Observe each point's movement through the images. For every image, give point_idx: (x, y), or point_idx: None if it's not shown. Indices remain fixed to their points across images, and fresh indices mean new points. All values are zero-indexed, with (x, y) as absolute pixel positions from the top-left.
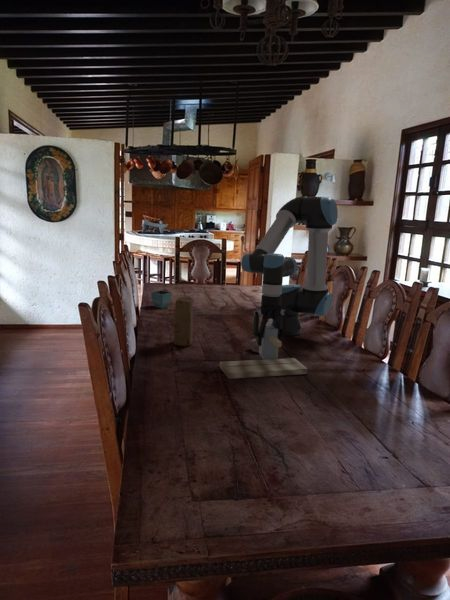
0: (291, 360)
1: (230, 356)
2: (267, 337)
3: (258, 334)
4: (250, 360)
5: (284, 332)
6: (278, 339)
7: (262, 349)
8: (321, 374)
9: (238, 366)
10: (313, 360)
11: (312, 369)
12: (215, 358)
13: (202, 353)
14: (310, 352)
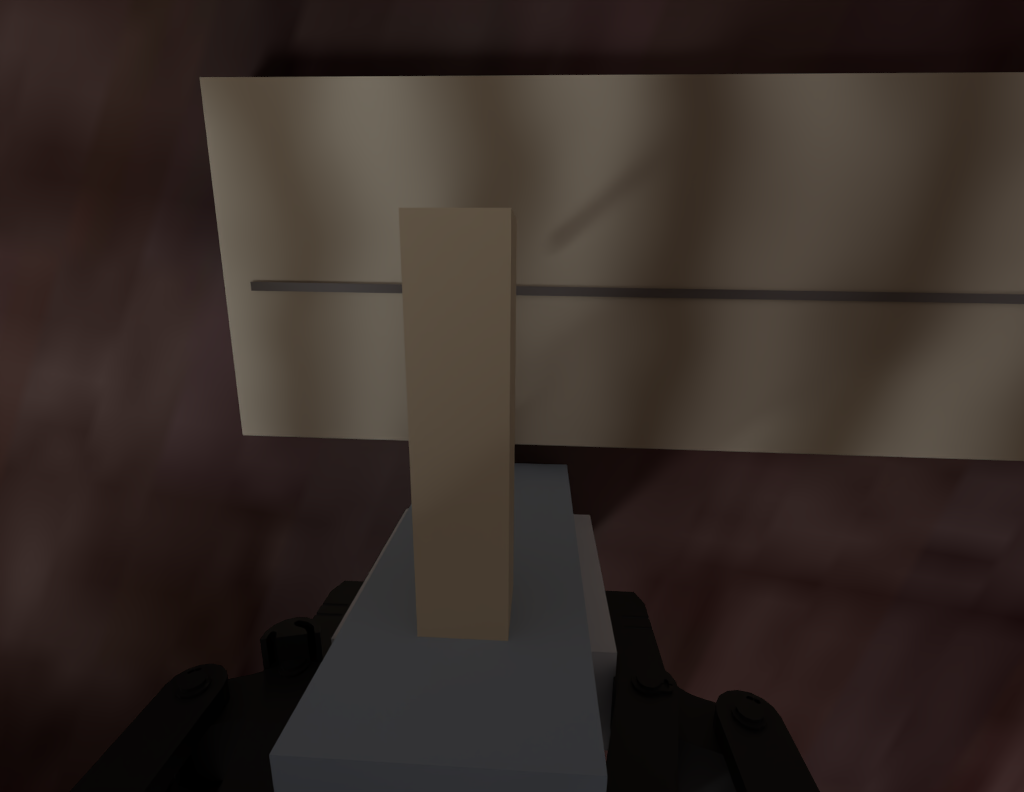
0: (295, 370)
1: (786, 675)
2: (542, 625)
3: (696, 739)
4: (732, 443)
5: (154, 713)
6: (325, 636)
7: (583, 546)
8: (96, 59)
9: (959, 283)
10: (68, 451)
11: (146, 219)
12: (948, 654)
13: (999, 784)
14: (41, 639)
